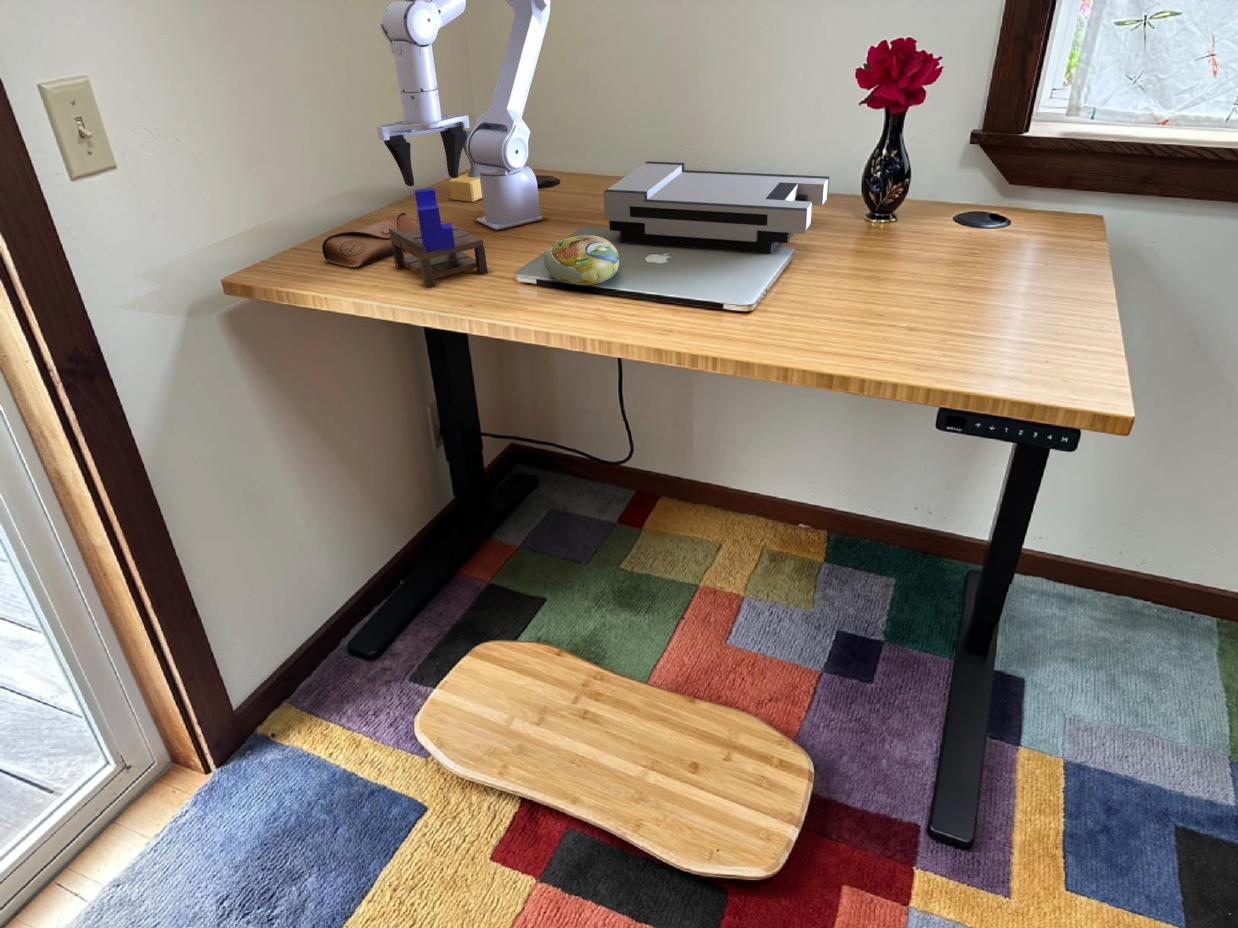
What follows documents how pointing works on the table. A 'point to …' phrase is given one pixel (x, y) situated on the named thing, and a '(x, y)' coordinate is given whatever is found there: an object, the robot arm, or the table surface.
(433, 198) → the blue stepped block
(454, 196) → the rubber stamp
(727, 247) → the game console
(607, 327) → the table surface
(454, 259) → the rack
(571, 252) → the cell model
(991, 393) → the table surface
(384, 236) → the sunglasses case
